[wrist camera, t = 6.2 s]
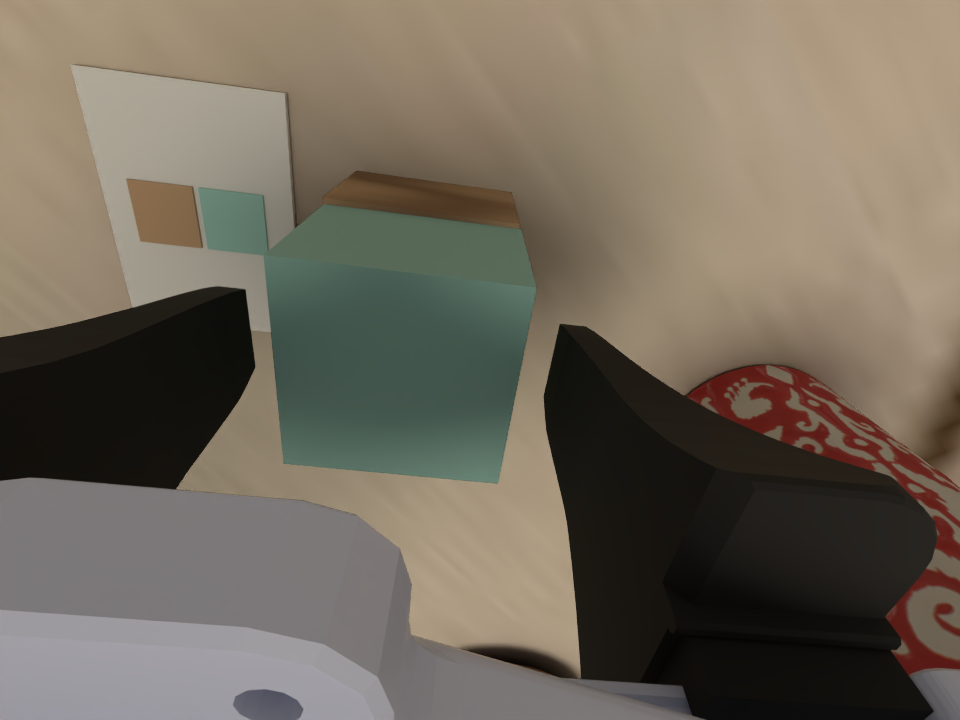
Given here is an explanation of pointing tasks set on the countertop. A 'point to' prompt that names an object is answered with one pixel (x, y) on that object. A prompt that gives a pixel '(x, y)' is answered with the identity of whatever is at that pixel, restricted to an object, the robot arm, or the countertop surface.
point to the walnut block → (425, 199)
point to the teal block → (398, 341)
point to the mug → (858, 441)
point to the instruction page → (190, 181)
